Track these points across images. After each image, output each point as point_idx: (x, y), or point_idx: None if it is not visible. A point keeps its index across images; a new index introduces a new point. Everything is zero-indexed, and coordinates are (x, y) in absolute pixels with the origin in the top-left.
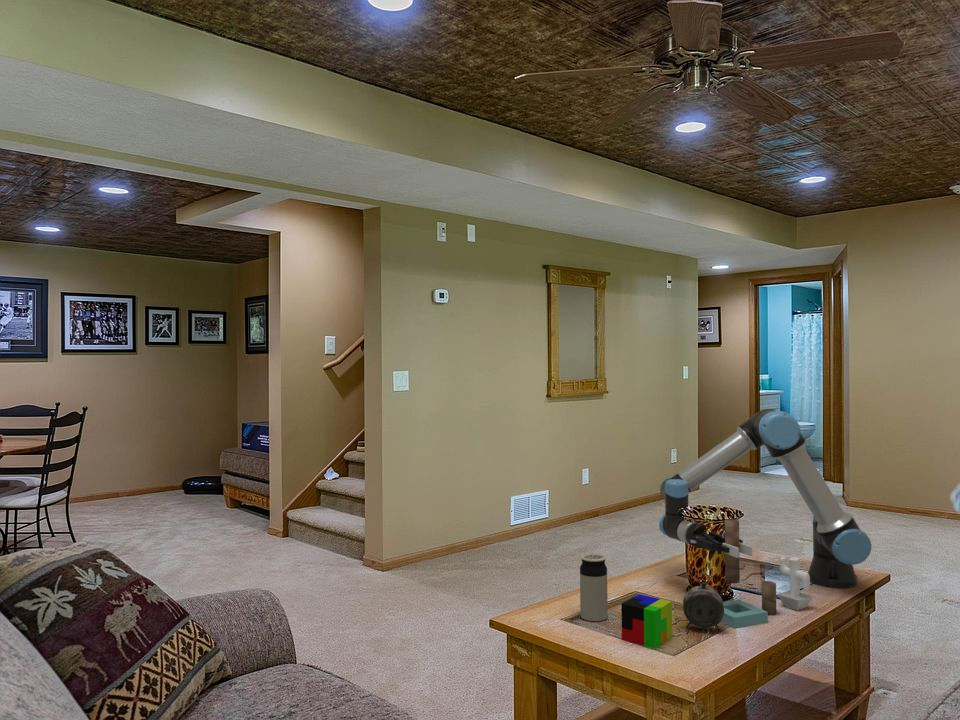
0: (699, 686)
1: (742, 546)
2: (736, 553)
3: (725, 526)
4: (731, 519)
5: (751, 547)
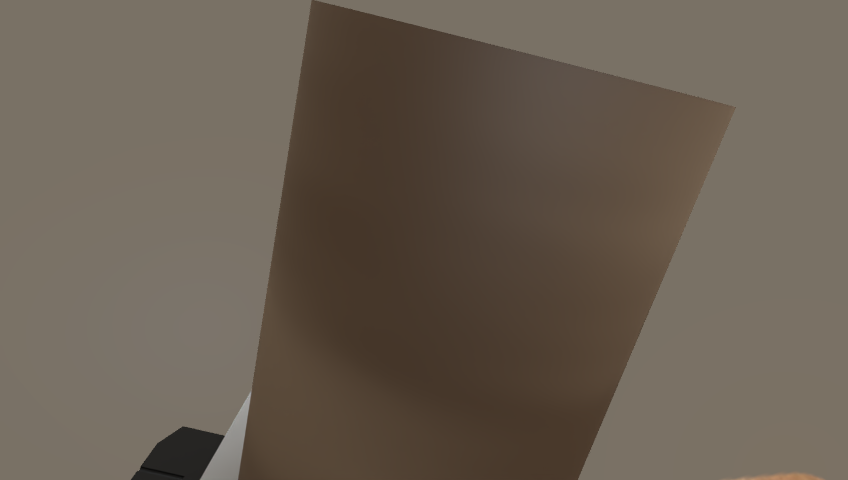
0: (797, 474)
1: None
2: None
3: (664, 272)
4: (415, 25)
5: None
